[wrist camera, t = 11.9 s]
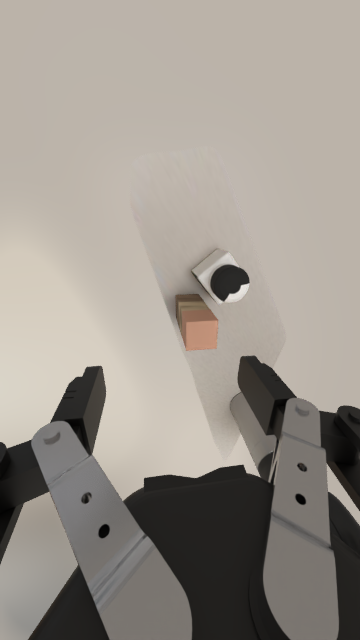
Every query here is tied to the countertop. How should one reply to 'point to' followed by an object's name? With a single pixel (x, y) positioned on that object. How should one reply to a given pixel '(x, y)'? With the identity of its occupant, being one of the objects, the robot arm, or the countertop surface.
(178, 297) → the tower bottom
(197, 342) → the clay block
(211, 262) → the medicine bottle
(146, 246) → the countertop surface
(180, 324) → the tower top
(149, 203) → the countertop surface
